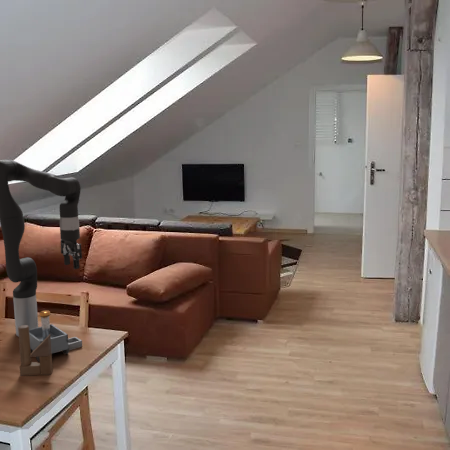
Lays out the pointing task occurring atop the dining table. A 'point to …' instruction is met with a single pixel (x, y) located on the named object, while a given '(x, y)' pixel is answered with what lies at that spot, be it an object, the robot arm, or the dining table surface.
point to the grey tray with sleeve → (54, 340)
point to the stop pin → (45, 323)
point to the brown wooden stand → (34, 354)
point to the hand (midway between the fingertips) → (71, 266)
